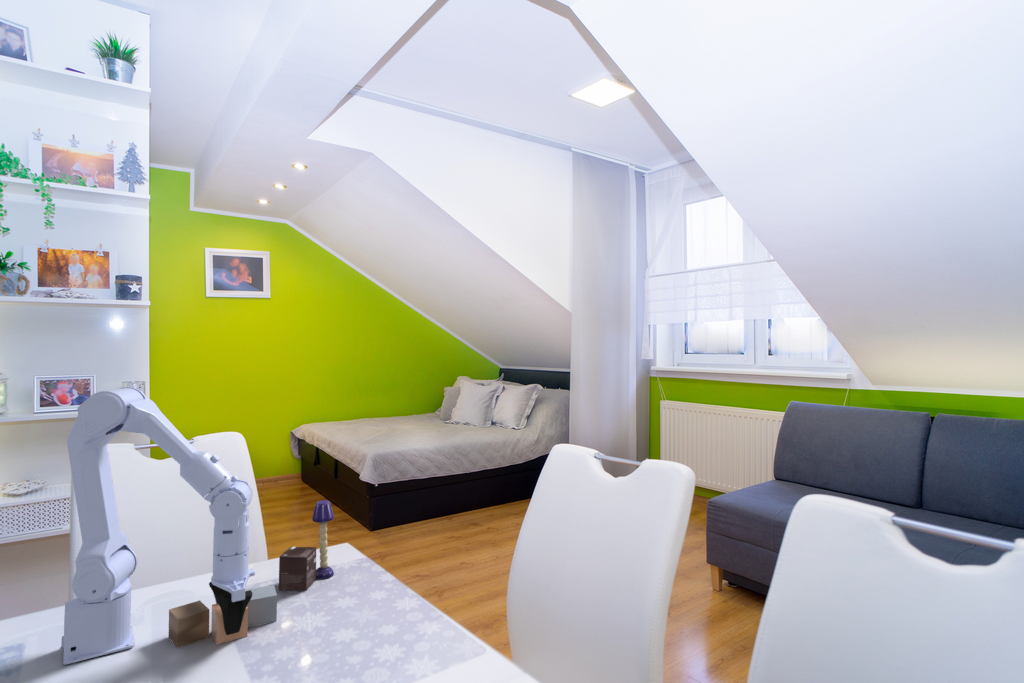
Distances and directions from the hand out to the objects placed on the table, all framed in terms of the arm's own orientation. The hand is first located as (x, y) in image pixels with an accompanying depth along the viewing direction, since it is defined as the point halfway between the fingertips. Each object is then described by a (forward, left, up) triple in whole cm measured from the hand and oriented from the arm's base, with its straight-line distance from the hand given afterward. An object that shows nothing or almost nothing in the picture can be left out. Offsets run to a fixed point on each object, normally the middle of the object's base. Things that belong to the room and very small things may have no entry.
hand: (229, 626), depth 101 cm
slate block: (+6, +3, -2) cm, 7 cm away
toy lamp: (+22, +16, -2) cm, 27 cm away
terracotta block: (0, 0, -1) cm, 1 cm away
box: (+16, +14, -2) cm, 21 cm away
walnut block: (-6, +3, -2) cm, 7 cm away
